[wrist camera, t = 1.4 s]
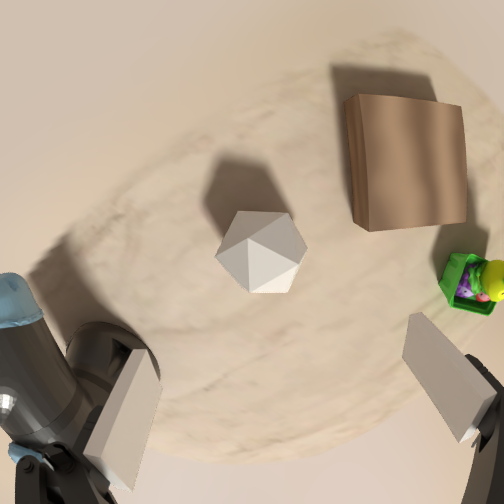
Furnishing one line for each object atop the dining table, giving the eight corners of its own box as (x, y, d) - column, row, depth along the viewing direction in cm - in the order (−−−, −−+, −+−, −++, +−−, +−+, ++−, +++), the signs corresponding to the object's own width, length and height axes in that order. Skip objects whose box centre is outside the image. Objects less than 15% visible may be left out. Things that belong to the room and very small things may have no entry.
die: (223, 200, 32) (188, 269, 26) (293, 181, 27) (270, 258, 21) (258, 249, 37) (235, 315, 31) (323, 238, 32) (309, 314, 26)
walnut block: (352, 221, 32) (369, 231, 28) (342, 102, 28) (358, 93, 23) (443, 214, 32) (466, 222, 27) (438, 110, 28) (461, 106, 23)
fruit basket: (428, 291, 35) (474, 331, 24) (451, 233, 33) (505, 259, 22) (472, 302, 36) (513, 336, 25) (492, 252, 34) (539, 278, 23)
